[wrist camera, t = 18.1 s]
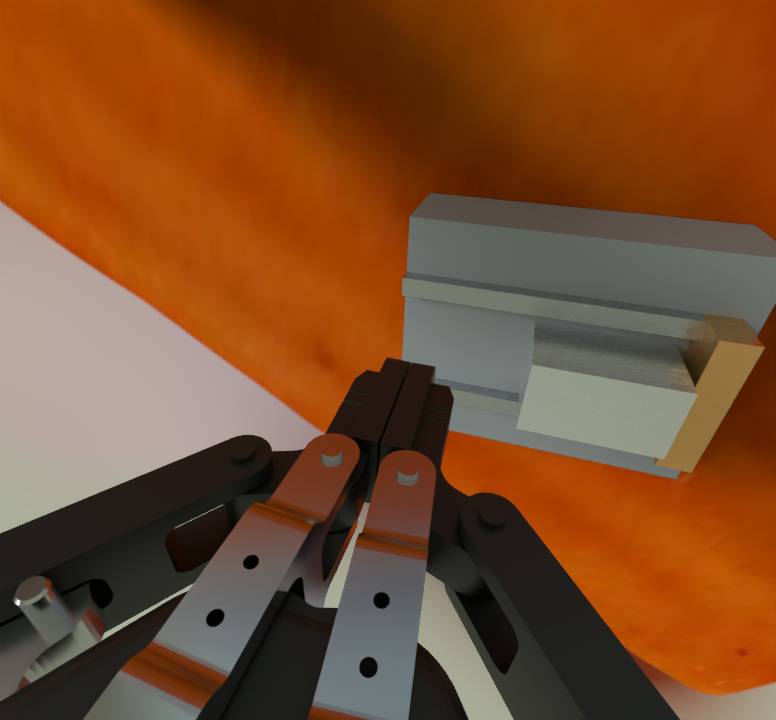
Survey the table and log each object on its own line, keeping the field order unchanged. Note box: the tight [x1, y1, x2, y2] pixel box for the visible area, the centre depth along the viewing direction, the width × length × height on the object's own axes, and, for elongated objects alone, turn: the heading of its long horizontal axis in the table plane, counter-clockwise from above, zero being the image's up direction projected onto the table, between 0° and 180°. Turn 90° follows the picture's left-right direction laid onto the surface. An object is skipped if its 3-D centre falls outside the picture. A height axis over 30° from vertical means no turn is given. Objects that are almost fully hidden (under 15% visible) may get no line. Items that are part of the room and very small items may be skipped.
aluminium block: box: [516, 322, 698, 459], centre depth 27 cm, size 8×5×5 cm, turn 86°
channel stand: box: [402, 193, 776, 479], centre depth 30 cm, size 20×16×9 cm
